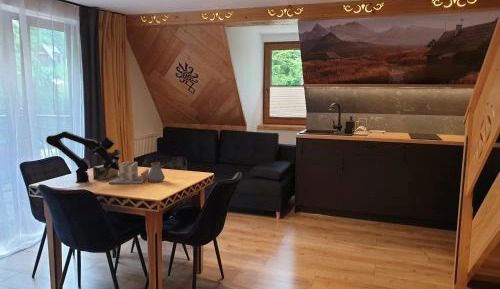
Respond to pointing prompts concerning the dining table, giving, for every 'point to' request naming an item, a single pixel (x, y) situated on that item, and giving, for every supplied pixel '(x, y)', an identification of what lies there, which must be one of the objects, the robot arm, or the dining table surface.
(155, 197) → the dining table surface
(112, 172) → the coffee box
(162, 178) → the coffee pot
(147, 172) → the grey tray
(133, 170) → the box
